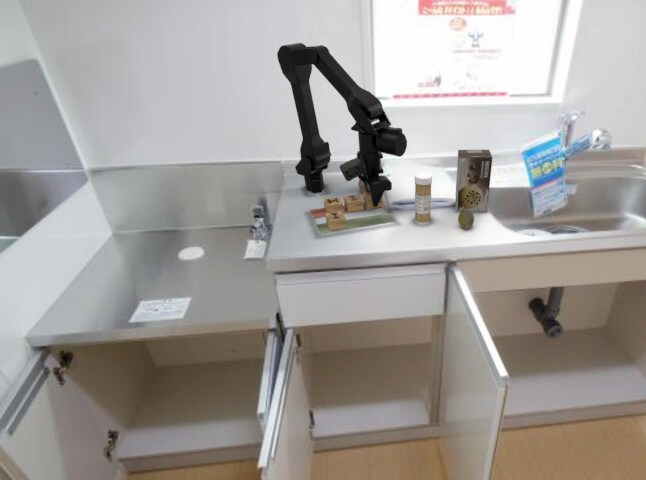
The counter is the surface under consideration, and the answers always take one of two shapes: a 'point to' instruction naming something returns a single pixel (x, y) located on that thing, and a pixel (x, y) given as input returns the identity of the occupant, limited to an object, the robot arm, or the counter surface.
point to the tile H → (333, 205)
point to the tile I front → (336, 221)
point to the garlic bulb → (361, 186)
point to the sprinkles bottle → (423, 196)
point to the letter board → (353, 222)
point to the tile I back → (353, 202)
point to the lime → (466, 219)
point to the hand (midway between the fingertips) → (372, 203)
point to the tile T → (370, 200)
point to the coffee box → (473, 180)
